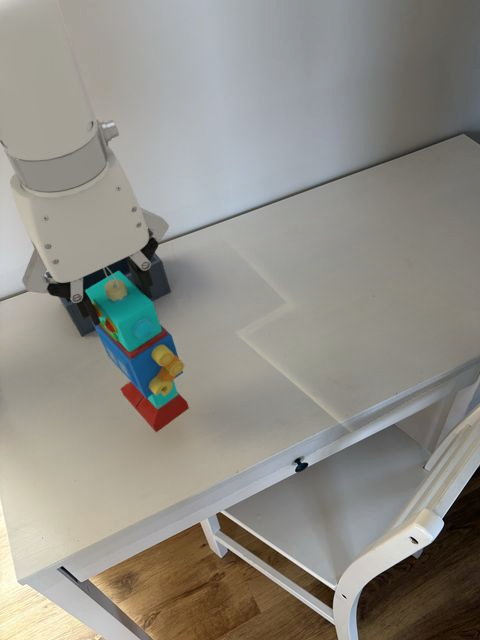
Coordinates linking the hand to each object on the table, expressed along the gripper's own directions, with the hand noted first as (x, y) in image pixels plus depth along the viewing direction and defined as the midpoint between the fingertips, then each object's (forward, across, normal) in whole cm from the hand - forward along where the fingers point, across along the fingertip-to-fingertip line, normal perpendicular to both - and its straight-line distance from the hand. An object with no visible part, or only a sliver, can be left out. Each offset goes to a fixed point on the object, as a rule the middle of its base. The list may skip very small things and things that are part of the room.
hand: (118, 303), depth 58 cm
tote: (+27, -5, -29) cm, 40 cm away
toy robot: (+20, 0, 0) cm, 20 cm away
